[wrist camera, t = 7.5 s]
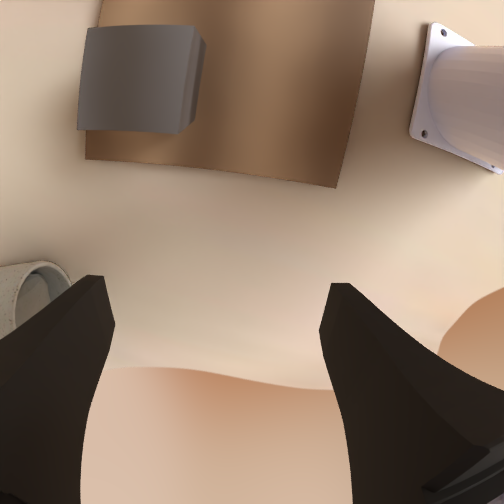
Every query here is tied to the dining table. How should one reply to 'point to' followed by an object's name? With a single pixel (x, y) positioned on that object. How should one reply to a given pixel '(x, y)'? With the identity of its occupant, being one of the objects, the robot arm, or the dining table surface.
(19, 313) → the ceramic mug
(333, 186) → the thin brown board
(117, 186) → the dining table surface
